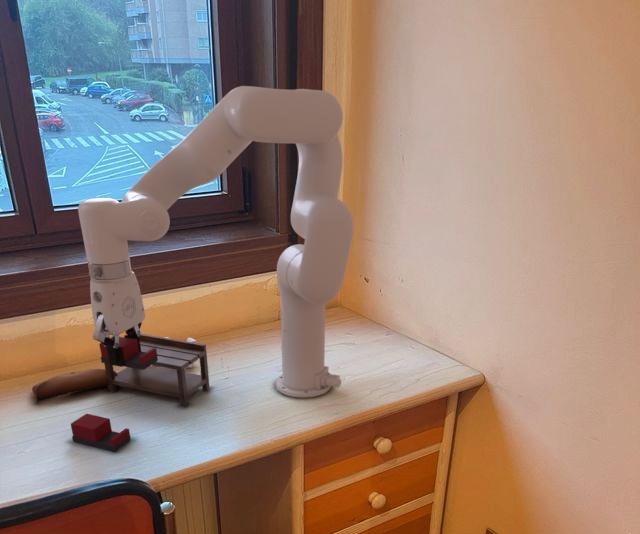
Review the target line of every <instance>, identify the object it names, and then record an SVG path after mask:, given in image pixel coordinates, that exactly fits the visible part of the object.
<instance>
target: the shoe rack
mask: <svg viewBox="0 0 640 534" xmlns="http://www.w3.org/2000/svg"><path fill="white" fill-rule="evenodd" d="M138 337H139V340H140V346H141V353H146V352H148V351H149V350H151V349H152V348H155V349H156V351H157V358H158V361H157V362H155V363H154V364H152V365H151V366H149V367H147V368H146V369H144V370H141V369H136V368H130V367H125V368H123V369H121V370H120V371H118V372H116V373H117V374H118V375H117V376H114V371H115V370H114V365H110V364H107V363H103V364H104V369H105V370H106V376H107V382H108V386H107V387H108V392H110V393H114V392H116V391H117V386H119V387H124V388H129V389H134V390H139V391H143V392H149V393H154V394H159V395H164V396H169V397H173V398H178V399H179V404H180V407H183V408H187V407H188V406H189V398H188V397H189V396H191V395H192V394H193V393H195V392H196V391H198V390H199V389H200V388H201V390H202V391H208V390H210V388H211V387H210V377H209V366H208V364H209V363H208V356H207V353H208V352H207V345H206V344H205V343H199V342H196V343H193V342H188V341H187V340H183V339H182V340H181V339H175V338H170V337H169V338H164V337H165V336H158V335H152V334H146V333H141V334H140V336H138ZM198 360H199V367H200V374H197V373H192V372H187V371H186V369H187V368H189V367H188V366H189V364H192V363H193V364H194V363H196V362H197V361H198ZM160 367H164V368H160ZM165 368H170V369H175V370H170V369H165ZM176 370H177V371H176Z"/></svg>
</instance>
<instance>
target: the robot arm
mask: <svg viewBox="0 0 640 534" xmlns="http://www.w3.org/2000/svg"><path fill="white" fill-rule="evenodd" d="M343 115H344V114H343V109H342V106H341V104H340V102H339V100H338V99H337V98H336V97H335V96H334V95H333V94H332V93H331V92H328V91H325V90H321V89H310V88H296V89H285V88H283V89H282V88H270V87H261V86H253V85H239V86H237V87H235V88H233V89H231V90H230V91H229V92H227V93H226V94H225V95H224V96H223V97H222V98H221V100H220V101H219V102H218V103H216V104H215V106H214V107H213V108H212V109H211V110H210V111H209V112H208V113H207V114H206V115H205V117H203V118H202V120H201V121H200V122H198V124H197V125H196V126H195V127H194V128H193V129H192V130H191V131H190V132H189V133H188V134H187V135H186V136H185V137H184V138H183V139H182V140H181V141H180V142H179V143H178V144H176V145H175V146H174V147H173V148H171V150H169V151H168V153H166V154H165V155H164V156H163V157H161V158H160V159H159V160H158V161H157V162H155V163H154V164H153V165H152V166H151V167H150V168H149V169H148V170H147V171H146V172H145V173H144V174H143V175H142V176H141V177H140V178H139V179H138V180H137V181H135V183H134V184H133V185H132V186H131V187H130V189H129V190H128V191H127V192H126V193H125V194H124V196H123V197H122V200H121V201H118V200H117V199H116V198H111V197H94V198H89V199H85V200H82V201H81V202H80V203H79V205H78V207H77V212H78V218H79V223H80V228H81V229H80V230H81V234H82V238H83V244H84V250H85V251H84V252H85V255H86V261H87V267H88V276H89V278H90V281H89V291H90V292H89V294H90V304H91V313H92V319H93V324H94V330H93V333H92V339H93V340H94V341H97V342H99V344H100V343H102V344H103V345H104V347H107V353H108V358H109V363H110V365H113V367H121V368H122V367H124V358H123V352H122V347H119V337H120V335H121V334H123V333H125V334H124V335H123V337H124V338H131V339H137V342H138V348H139V352H140V353H141V346H140V340H139V337H138V336H140V334H142V333H141V327H142V323H143V321H144V320H145V319H146V313H145V312H146V311H145V307H144V301H143V297H142V293H141V288H140V284H139V282H138V279H137V276H136V273H135V272H134V271H133V269H132V263H131V256H130V250H129V243H128V241H132V242H133V241H135V242H154V241H157V240H159V239H161V238H163V237H164V236H165V235H166V234H167V233H168V231H169V229H170V223H171V219H170V214H169V211H168V210H169V209H170V208H171V207H172V206H173V205H174V204H175V203H176V202H177V201H178V200H179V199H180V198H181V197H183V196H184V195H185V194H186V193H188V192H190V191H192V190H193V189H195V188H197V187H201V186H204V185H207V184H209V183H212V181H213V182H214V181H215V180H216V179H217V178H219V177H220V176H221V174H223V172H224V171H225V170H227V168H228V167H229V166H230V165H231V164H232V163H233V162H234V161H235V160H236V158H238V157H239V156H240V154H241V153H243V152H244V150H245V149H246V148H247V147H248V146H249V145H250V144H251V143H252V142H257V143H266V144H267V143H268V144H295V146H296V149H297V154H298V167H297V170H298V171H297V176H296V177H297V178H296V183H295V189H294V194H293V199H292V200H293V201H292V204H291V205H292V206H291V211H290V225H291V227H292V229H293V231H294V232H295V233H296V234H297V235H298V236H299V237H301V238H302V239H303V240H304V243H303V244H302V243H298V244H293V245H290V246H289V247H286V248H285V249H284V250H283V252H281V254H280V255H279V258H278V260H277V264H276V279H277V286H278V292H279V301H280V331H281V336H280V337H281V371H282V373H281V375H279V376H278V377H277V378H276V381H275V388H276V390H277V391H278V392H279V393H281V394H283V395H285V396H288V397H292V398H302V399H303V398H313V397H318V396H322V395H324V394H326V393H327V392H328V391H330V389H331V387H332V388H337V389H339V388H340V387H341V385H342V379H341V378H340V374H331V372H329V366H327V365H326V366H325V359H326V358H325V354H326V353H325V352H326V351H325V350H326V349H325V348H326V347H325V342H326V334H325V333H326V304H327V303H330V302H331V301H332V300H333V299H335V298H336V296H337V295H338V294H339V292H340V290H341V289H342V286H343V282H344V278H345V274H346V270H347V264H348V260H349V256H350V251H351V247H352V241H353V235H354V220H353V215H352V212H351V210H350V208H349V207H348V206H347V205H346V204H345V203H344V201H342V200H341V199H339V192H340V185H341V178H342V173H343V172H342V171H343V149H342V144H341V141H340V137H339V135H338V133H339V132H340V130H341V128H342V125H343V119H344V118H343V117H344V116H343ZM110 335H111V336H112V337H113V340H112V339H110V338H111V337H110Z"/></svg>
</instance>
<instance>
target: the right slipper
mask: <svg viewBox="0 0 640 534" xmlns="http://www.w3.org/2000/svg"><path fill="white" fill-rule="evenodd" d="M110 339H112V340H113V336H111V337H110ZM98 344H99V350H100V355H101V356H100V361H101V364H104V363H107V364H110V363H109V358H108V353H107V347H104V345H103V344H102V343H100V342H99V343H98ZM119 347H122V352H123V358H124V366H123V367H125V368H127V367H130V368H136V369H141V370H144V369H146V368H147V367H149V366H153V365H152V364H154V363H155V362H157V361H158V358H157V351H156V349H155V348H152V349H151V350H149V351H148V352H146V353H140V352H139V348H138V342H137V339H131V338H124V336H119Z"/></svg>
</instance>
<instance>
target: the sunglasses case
mask: <svg viewBox="0 0 640 534" xmlns="http://www.w3.org/2000/svg"><path fill="white" fill-rule="evenodd" d="M117 373H118V372H116V370H114V376H117V375H118V374H117ZM104 387H108V382H107V376H106V370H105V368H90V369H85V370H79V371H72V372H69V373H63V374H59V375H55V376H53V377H50V378H48V379H46V380H44V381H40V382H38V383H37V384H35V385H33V386H32V387H31V390H32V394H33V396H34V401H35V403H36V404H37V403H39V402H42V401H43V402H44V401H46V400H50V399H55V398H57V397H59V396H65V395H67V394H73V393H80V392H83V391H87V390H94V389H99V388H104Z"/></svg>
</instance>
